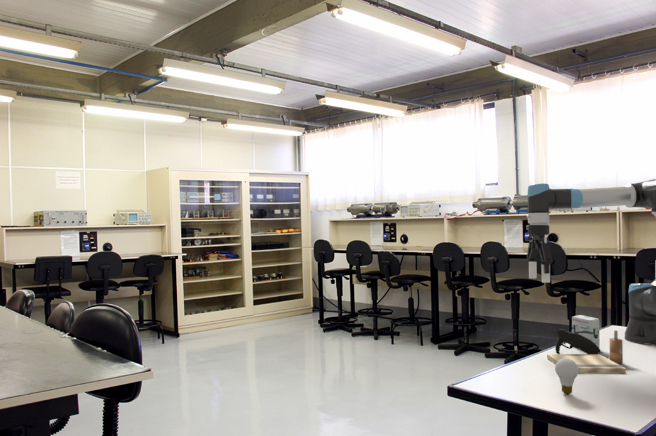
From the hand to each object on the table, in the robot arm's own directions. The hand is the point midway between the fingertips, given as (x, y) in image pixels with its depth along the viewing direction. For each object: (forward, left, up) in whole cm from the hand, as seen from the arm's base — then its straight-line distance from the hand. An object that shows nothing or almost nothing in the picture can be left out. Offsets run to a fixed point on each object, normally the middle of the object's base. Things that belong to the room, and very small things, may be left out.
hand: (539, 280), depth 189 cm
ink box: (-18, -2, -26) cm, 32 cm away
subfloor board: (-7, +21, -26) cm, 34 cm away
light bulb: (+11, +50, -26) cm, 58 cm away
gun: (-11, +8, -26) cm, 30 cm away
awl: (-19, +18, -26) cm, 37 cm away
